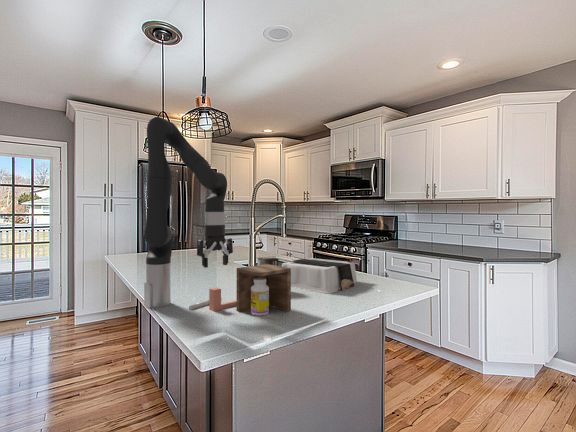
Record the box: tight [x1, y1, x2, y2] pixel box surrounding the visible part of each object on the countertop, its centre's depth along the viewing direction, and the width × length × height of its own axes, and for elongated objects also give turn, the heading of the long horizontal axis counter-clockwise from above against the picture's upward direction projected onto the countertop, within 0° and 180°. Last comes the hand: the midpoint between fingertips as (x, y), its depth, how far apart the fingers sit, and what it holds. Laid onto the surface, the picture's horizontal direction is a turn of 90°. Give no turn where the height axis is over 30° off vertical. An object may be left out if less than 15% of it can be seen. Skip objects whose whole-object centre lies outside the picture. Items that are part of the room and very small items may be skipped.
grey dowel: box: [188, 299, 209, 311], centre depth 132 cm, size 16×2×2 cm
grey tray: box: [281, 257, 358, 295], centre depth 168 cm, size 35×33×12 cm
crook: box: [208, 287, 237, 312], centre depth 133 cm, size 20×8×8 cm, turn 133°
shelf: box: [236, 264, 292, 313], centre depth 123 cm, size 15×14×16 cm
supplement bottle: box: [250, 278, 270, 317], centre depth 120 cm, size 7×7×13 cm
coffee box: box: [257, 256, 280, 266], centre depth 154 cm, size 9×6×16 cm
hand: (215, 266), depth 125 cm, fingers open, 8 cm apart
